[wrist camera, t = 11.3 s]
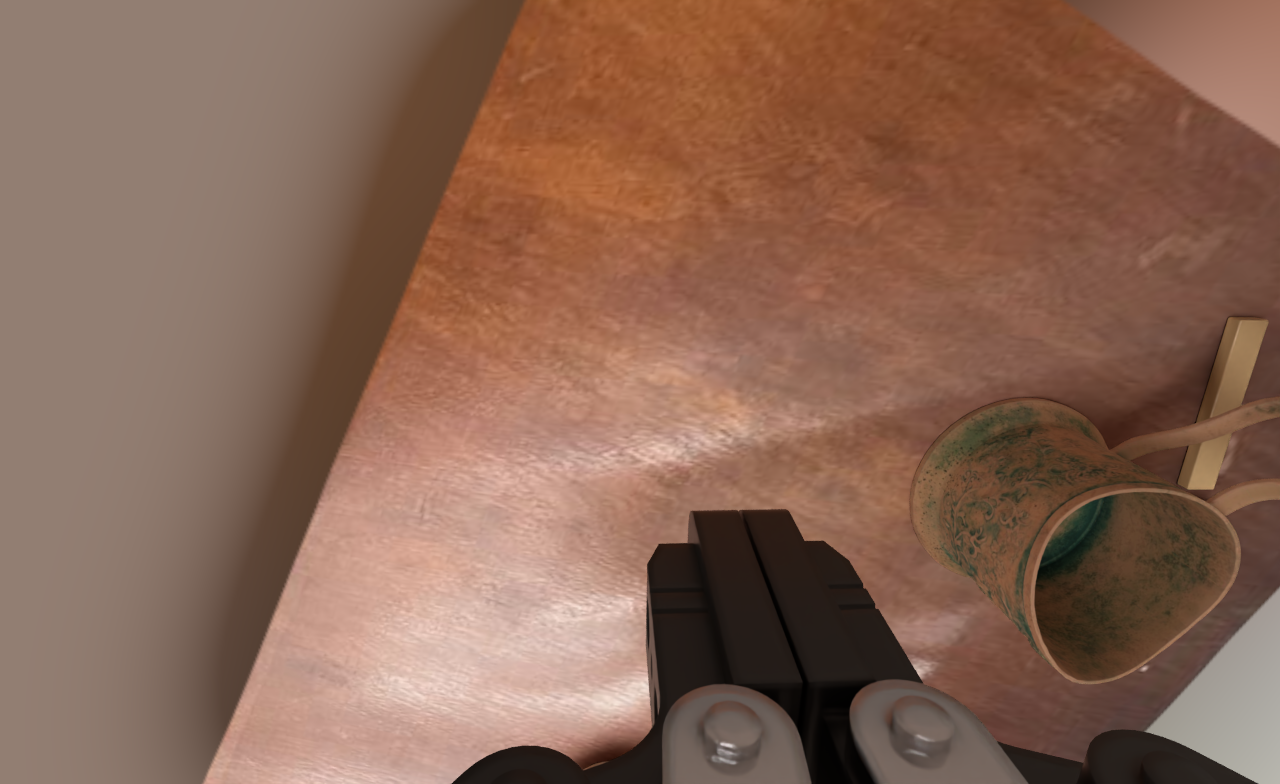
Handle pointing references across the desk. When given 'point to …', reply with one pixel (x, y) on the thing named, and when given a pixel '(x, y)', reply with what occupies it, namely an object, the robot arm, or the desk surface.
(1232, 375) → the spoon
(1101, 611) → the mug
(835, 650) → the robot arm
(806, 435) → the desk surface
